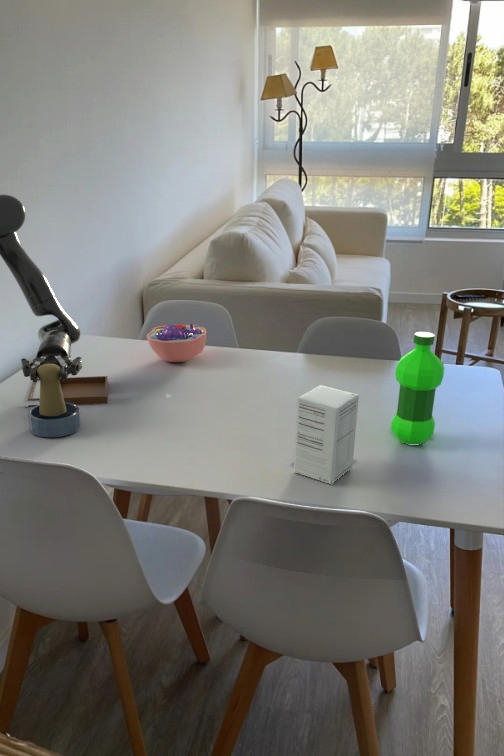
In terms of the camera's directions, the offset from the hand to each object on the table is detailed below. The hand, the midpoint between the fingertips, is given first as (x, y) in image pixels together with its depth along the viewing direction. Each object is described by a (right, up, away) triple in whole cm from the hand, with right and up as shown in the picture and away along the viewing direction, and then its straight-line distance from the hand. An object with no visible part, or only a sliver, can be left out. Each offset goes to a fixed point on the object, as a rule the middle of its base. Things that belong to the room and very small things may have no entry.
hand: (48, 377), depth 155 cm
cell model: (+23, +11, +56) cm, 61 cm away
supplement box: (+59, -20, -8) cm, 63 cm away
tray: (-2, -1, +28) cm, 28 cm away
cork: (-1, -7, +6) cm, 10 cm away
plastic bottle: (+81, -14, +6) cm, 83 cm away
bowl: (-1, -11, +8) cm, 14 cm away
